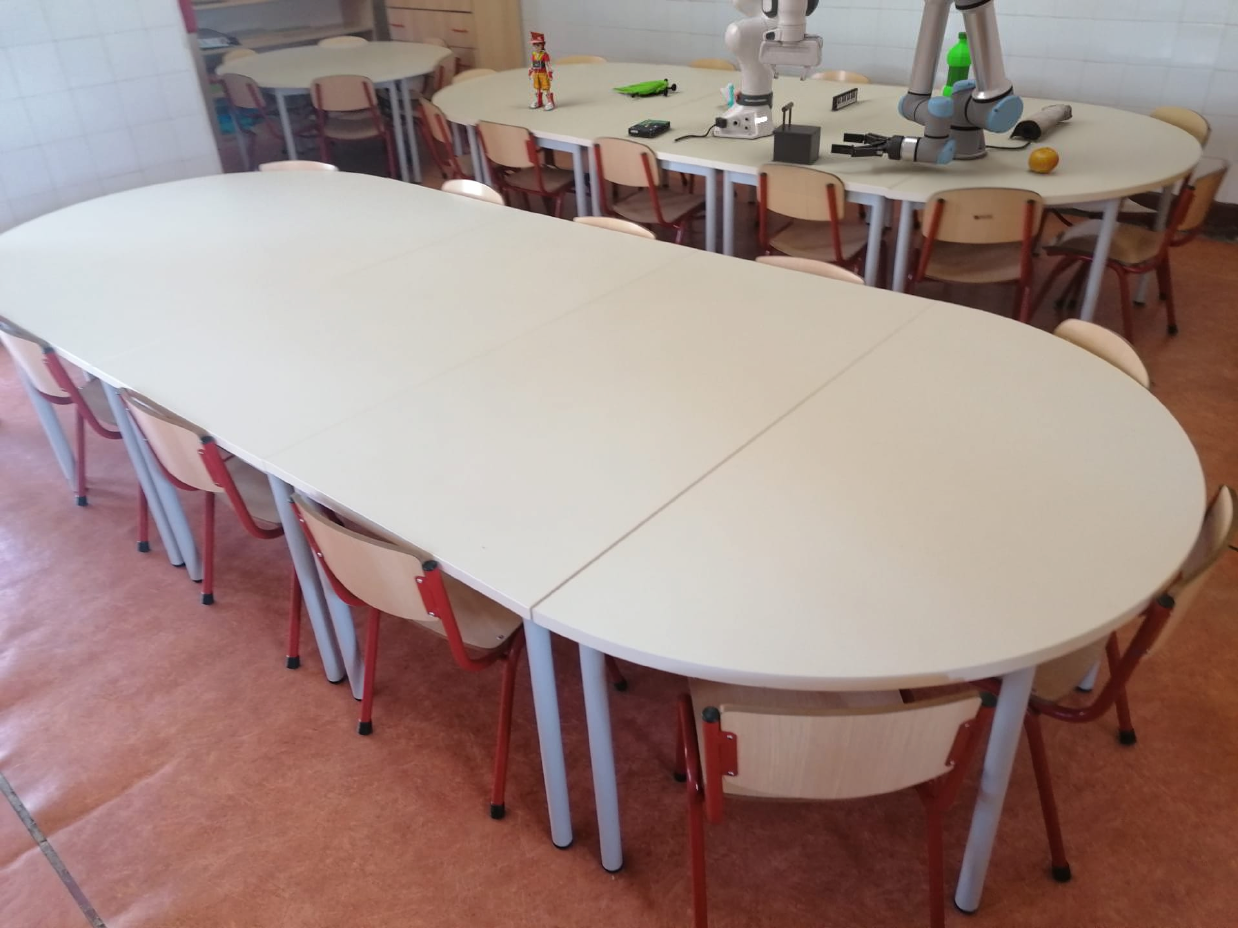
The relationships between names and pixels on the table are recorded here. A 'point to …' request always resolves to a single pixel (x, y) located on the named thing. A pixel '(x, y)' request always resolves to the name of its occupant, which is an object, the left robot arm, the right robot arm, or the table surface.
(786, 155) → the chest
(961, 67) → the plastic bottle
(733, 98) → the anatomical model
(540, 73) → the toy
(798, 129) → the lid
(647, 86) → the toy
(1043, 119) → the rolled mat
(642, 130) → the disk drive
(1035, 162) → the fruit
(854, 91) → the midi keyboard
